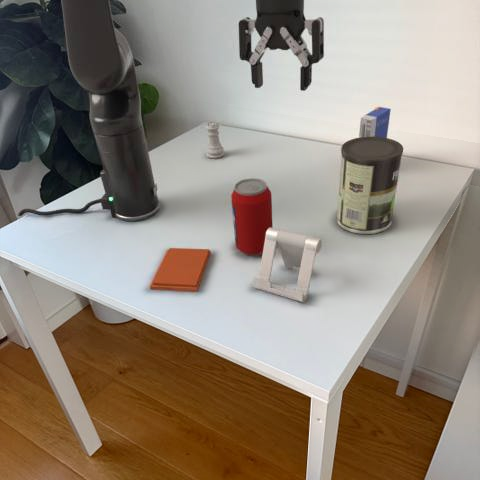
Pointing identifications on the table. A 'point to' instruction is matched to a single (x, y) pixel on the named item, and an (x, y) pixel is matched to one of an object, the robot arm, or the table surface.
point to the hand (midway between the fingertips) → (281, 88)
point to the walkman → (375, 123)
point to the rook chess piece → (214, 141)
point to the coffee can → (368, 184)
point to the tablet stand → (288, 261)
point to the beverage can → (251, 215)
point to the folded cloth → (181, 269)
